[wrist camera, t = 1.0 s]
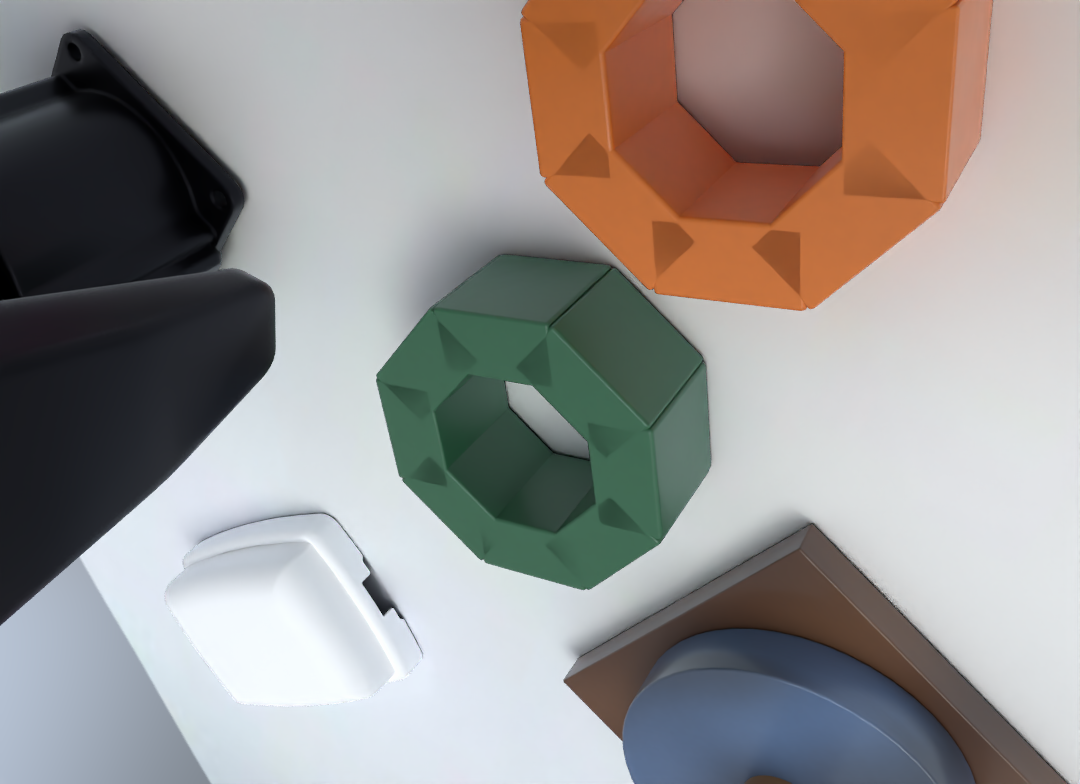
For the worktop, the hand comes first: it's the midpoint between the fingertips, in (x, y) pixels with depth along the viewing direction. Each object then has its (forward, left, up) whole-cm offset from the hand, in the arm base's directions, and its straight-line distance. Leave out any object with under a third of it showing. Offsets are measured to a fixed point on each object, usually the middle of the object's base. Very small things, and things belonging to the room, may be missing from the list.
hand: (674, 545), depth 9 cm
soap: (-2, -28, -13) cm, 31 cm away
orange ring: (-3, -2, -13) cm, 13 cm away
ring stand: (+10, -14, -13) cm, 21 cm away
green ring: (-1, -11, -13) cm, 17 cm away
